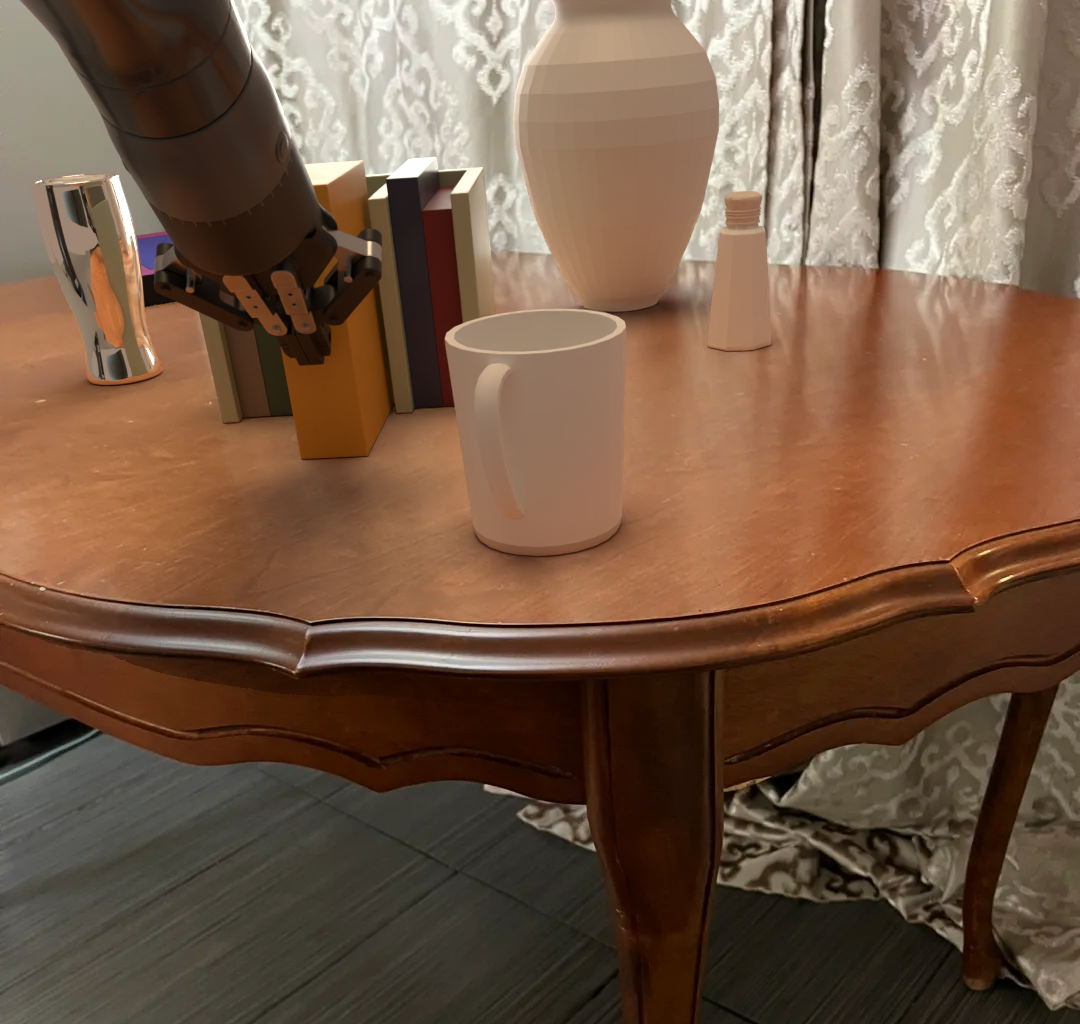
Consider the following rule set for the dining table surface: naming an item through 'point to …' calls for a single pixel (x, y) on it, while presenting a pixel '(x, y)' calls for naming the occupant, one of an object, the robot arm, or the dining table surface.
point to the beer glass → (98, 272)
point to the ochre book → (343, 344)
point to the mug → (541, 426)
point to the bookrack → (387, 293)
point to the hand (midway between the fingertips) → (312, 351)
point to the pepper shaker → (741, 279)
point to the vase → (616, 145)
